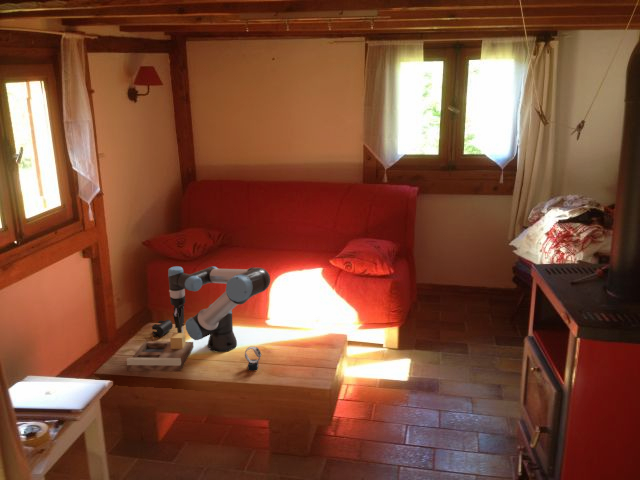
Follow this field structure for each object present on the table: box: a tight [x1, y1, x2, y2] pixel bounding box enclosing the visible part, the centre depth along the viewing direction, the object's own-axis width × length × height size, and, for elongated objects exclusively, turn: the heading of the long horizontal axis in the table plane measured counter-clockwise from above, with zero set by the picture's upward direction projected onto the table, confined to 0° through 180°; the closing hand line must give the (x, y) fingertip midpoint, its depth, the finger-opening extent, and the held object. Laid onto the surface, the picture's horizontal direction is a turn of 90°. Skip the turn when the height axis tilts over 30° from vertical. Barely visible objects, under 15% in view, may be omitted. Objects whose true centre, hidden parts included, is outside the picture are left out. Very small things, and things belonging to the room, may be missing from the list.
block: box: [169, 332, 187, 349], centre depth 305 cm, size 6×6×6 cm
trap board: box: [126, 340, 194, 372], centre depth 298 cm, size 26×26×6 cm
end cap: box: [151, 319, 173, 338], centre depth 327 cm, size 10×7×7 cm
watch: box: [244, 346, 262, 372], centre depth 287 cm, size 6×8×11 cm
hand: (180, 338), depth 311 cm, fingers closed
